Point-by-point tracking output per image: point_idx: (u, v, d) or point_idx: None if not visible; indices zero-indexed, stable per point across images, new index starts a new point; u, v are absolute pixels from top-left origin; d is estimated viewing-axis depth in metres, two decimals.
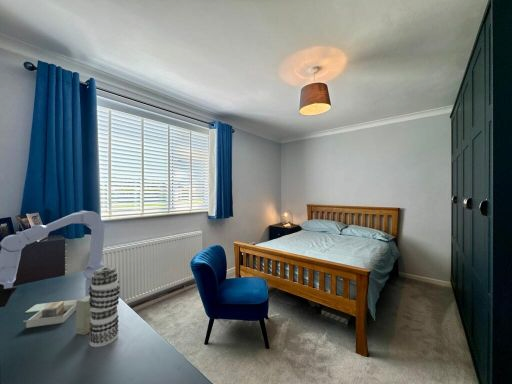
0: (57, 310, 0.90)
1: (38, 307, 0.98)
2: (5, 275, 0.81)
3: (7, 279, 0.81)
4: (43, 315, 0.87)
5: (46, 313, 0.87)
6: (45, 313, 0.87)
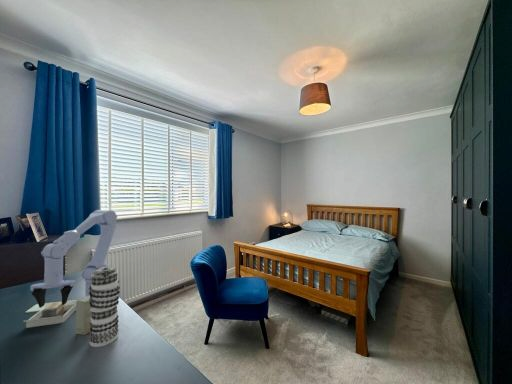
0: (57, 310, 0.90)
1: (38, 307, 0.98)
2: (61, 278, 0.91)
3: (62, 281, 0.92)
4: (43, 315, 0.87)
5: (46, 313, 0.87)
6: (45, 313, 0.87)
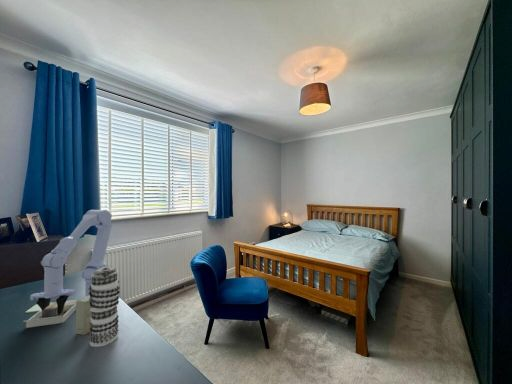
0: None
1: (38, 307, 0.98)
2: (61, 287, 0.91)
3: (62, 290, 0.92)
4: (43, 315, 0.87)
5: (46, 313, 0.87)
6: (45, 313, 0.87)
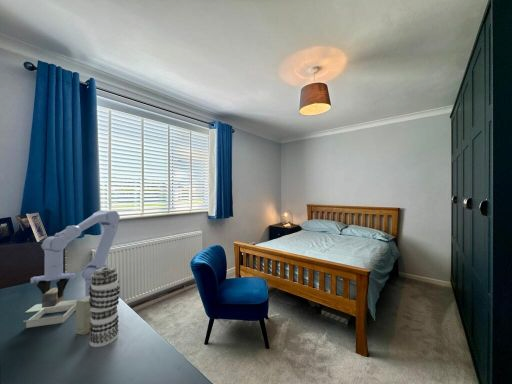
0: (57, 295, 0.90)
1: (38, 307, 0.98)
2: (61, 271, 0.92)
3: (62, 274, 0.92)
4: (43, 299, 0.87)
5: (46, 297, 0.87)
6: (45, 297, 0.87)
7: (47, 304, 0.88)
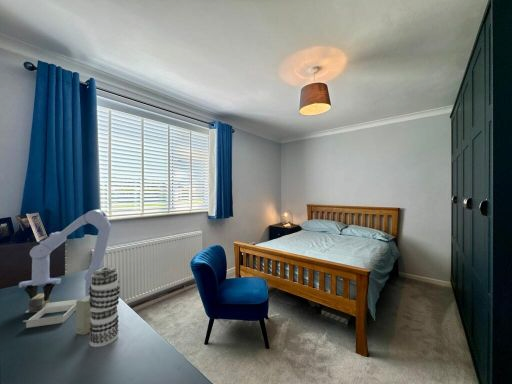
0: (43, 300, 0.98)
1: None
2: (47, 276, 0.99)
3: (48, 279, 1.00)
4: (29, 304, 0.95)
5: (32, 303, 0.95)
6: (31, 303, 0.95)
7: (33, 309, 0.95)
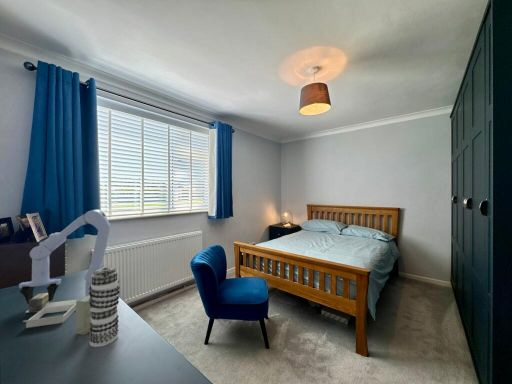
0: (43, 300, 0.98)
1: None
2: (47, 277, 0.99)
3: (48, 279, 1.00)
4: (30, 304, 0.95)
5: (32, 303, 0.95)
6: (31, 303, 0.95)
7: (33, 309, 0.95)
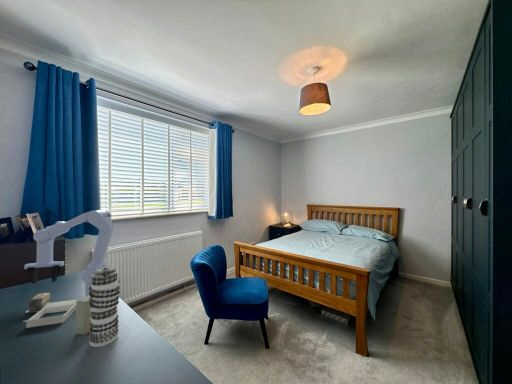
0: (43, 300, 0.98)
1: None
2: (51, 259, 1.05)
3: (52, 261, 1.06)
4: (30, 304, 0.95)
5: (32, 303, 0.95)
6: (31, 303, 0.95)
7: (33, 309, 0.95)
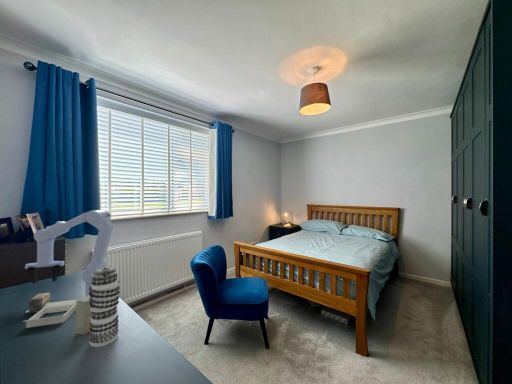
0: (43, 300, 0.98)
1: None
2: (51, 258, 1.06)
3: (52, 261, 1.06)
4: (30, 304, 0.95)
5: (32, 303, 0.95)
6: (31, 303, 0.95)
7: (33, 309, 0.95)
